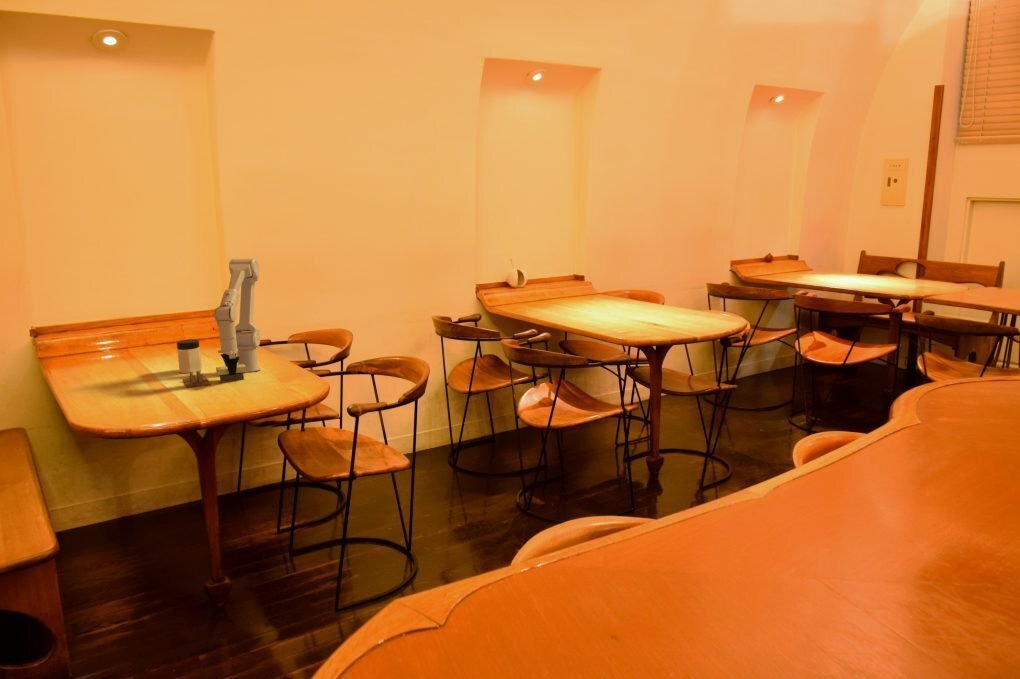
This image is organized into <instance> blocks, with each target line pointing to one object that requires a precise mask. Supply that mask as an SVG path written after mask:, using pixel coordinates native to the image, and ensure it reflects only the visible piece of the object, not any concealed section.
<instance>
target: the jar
mask: <svg viewBox="0 0 1020 679" xmlns="http://www.w3.org/2000/svg"><path fill="white" fill-rule="evenodd" d="M176 348H177V350H176V351H177V352H176V353H177V359H178V368H179V374H180V373H181V374H189V372H193V373H196V371H200V372H201V371H202V369H203V368H202V355H201V351H200V350H201V349H200V340H199V339H196V338H194V339H193V338H191V339H181V340H178V341H177V342H176Z"/></svg>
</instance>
